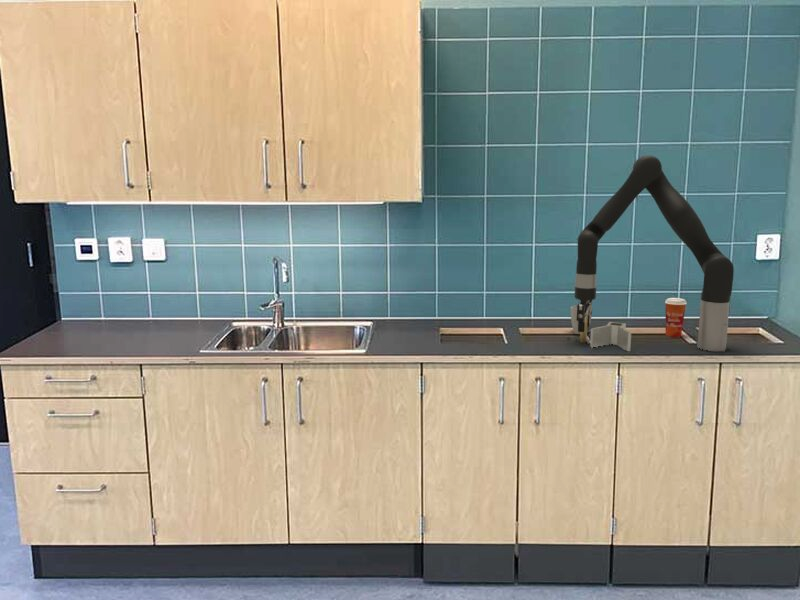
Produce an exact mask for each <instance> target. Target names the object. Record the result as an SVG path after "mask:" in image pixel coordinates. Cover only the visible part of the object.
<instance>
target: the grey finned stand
mask: <svg viewBox="0 0 800 600" xmlns="http://www.w3.org/2000/svg"><path fill="white" fill-rule="evenodd" d="M626 327H627V323H625V322H613V321H609V322H608V323H607V324H606V325H602V326H597V327H593V328H590V340H589V341H590V342H589V348H590V347H591V348H590V349H594V348H593V347H596V348H599V347H598V346H601V347H604V346H603V345H606V346H609V344H610V345H611V344H613V345H614V346H618V347H619V348H621V349H622V350H624V351H625V350H626V351H630V352H631V346H632V345H631V344H632V331H630V330H628V329H626ZM613 345H612V346H613ZM626 351H625V352H626Z"/></svg>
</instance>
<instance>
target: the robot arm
mask: <svg viewBox="0 0 800 600" xmlns="http://www.w3.org/2000/svg"><path fill="white" fill-rule="evenodd" d="M662 165H663V164H662V163H661V161H660V159H659V158H658V157H656V156H653V155H649V154H648V155H643V156H640V157H639V158H638V159H636V160H635V162H634V164H633V166H632V171H631V172H630V174H629V176H628V177H627V179H626V180H625V181H624V183H623V184H622V185H621V187H620V188H619V189H618V190H617V191H616V192H615V193H614V194H613V195H612V196H611V197H610V198H609V199H608V200H607V201H606V202H605V204H603V206H602V207H601V208H600V209H599V210H598V212H597V213H596V214H595V216H593V219H592V220H591V221H590V222H589V223H588V224H587V225H586V226H585V227H584V228H583V229H582V230H581V231H580V233H579V234H578V236H577V261H576V268H575V269H576V270H575V272H576V274H575V278H574V279H575V281H574V299H576V300H579V303H577V319H576V320H577V321H578V332H584V329H585V318H586V317H587V315H588V320H587V327H589V322H590V316H591V315H590V314H593V305H592V304H593V301H594V300H595V299H596V298H597V296H596V295H597V269H598V268H597V267H598V266H597V265H598V264H597V256H598V248H599V241H601V239H602V238H603V236H604V235H605V234H606V233H607V232H608V231H610V230H611V229H612V228H613V227H614V225H615V224H616V223H617V221H619V220H620V218H621V217H622V216H623V214H624V213H625V212H626V210H627V209H628V208H629V206H631V204H632V202H633V201H635V199H636V198H637V197H638V196H639V195H640V194H641V193H642V192H643V191H644V189H646V190H647V192H648V193H649V195H651V197H652V198H653V199H654V201H655V203H656V205H657V207H658V209H659V211H660V213H661V214H662V215H663V218H664V219H665V221H666V223H667V224H668V226H670V228H671V229H672V231H673V232H674V233H675V234H676V235H677V236H678V238H679V239H680V241H681V242H683V244H685V246H687V247H688V249H689V250H690V251H691V253H692V255H693V256H694V257H695V259H696V261H697V262H698V265H699V266H700V268H701V270H702V272H703V286H702V290H701V294H700V295H701V296H700V308H699V318H698V319H699V320H698V321H699V322H698V332H697V333H698V334H697V346H696V347H697V349H699V348H700V349H699V350H702V349H703V351H706V350H708V351H707V352H726V351H725V350H727V340H728V327H729V313H730V301H731V295H732V292H733V284H734V283H733V282H734V275H735V274H734V273H735V271H734V270H735V269H734V268H735V267H734V264H733V262H732V260H731V259H729V258H728V257H727V256H725V254H724V253H722V252H721V251H720V249H718V247H717V246H716V245H715V243H714V242H713V241H712V240H711V238H710V236H709V234H708V232H707V230H706V228H705V226H704V224H703V223H702V220H701V219H700V217H699V215H698V214H697V213H696V211H695V210H694V208H693V207H692V205H690V203H689V202H688V201H687V200H686V199H685V198H684V196H683V195H682V194H681V193H680V192H679V191H678V190H677V189H676V188H674V186H673V185H672V184H671V183H670V181H669V179H668V178H667V176H666V175H665V173H664V171H663V166H662ZM581 316H582V318H580V317H581ZM590 323H591V322H590ZM589 328H590V327H589Z"/></svg>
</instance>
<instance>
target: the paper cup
mask: <svg viewBox="0 0 800 600" xmlns="http://www.w3.org/2000/svg"><path fill="white" fill-rule="evenodd" d="M664 303H665V309H664V310H665V312H664V313H665V336H666V337H670V338H680V337H682V334H683V333H682V332H683V327H684V319H685V312H686V305H688V303H687V301H686V299H684V298H680V297H668V298H667V299H665V301H664Z"/></svg>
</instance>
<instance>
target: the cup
mask: <svg viewBox="0 0 800 600" xmlns="http://www.w3.org/2000/svg"><path fill="white" fill-rule="evenodd" d="M577 305H578V304H577ZM577 305H572V306H570V321H571V326H572V327H571V328H572V332H573V333H574V334H577V335H580V332H578V321H577V320H576V319H577ZM592 314H593V313H592ZM592 314H590V315H591V316H590V322H589V327H587V333H588V332H589V329H590V327H591V322H592V317H593V315H592ZM580 318H581V317H580Z"/></svg>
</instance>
